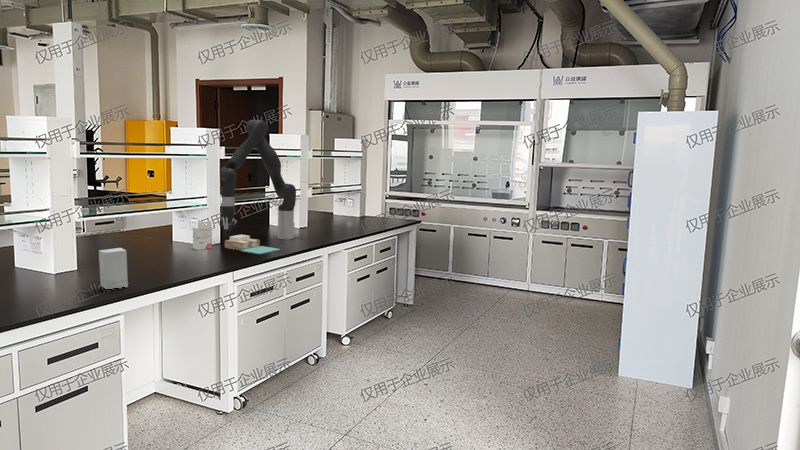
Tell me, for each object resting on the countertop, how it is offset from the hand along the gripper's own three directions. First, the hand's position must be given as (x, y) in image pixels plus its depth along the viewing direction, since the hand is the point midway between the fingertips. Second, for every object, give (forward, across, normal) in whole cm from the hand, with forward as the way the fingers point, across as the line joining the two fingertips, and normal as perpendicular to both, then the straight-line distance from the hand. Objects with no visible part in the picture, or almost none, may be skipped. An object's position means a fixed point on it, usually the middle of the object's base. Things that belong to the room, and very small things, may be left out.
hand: (227, 235), depth 307 cm
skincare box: (+5, -32, +92) cm, 98 cm away
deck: (+5, -11, 0) cm, 12 cm away
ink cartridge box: (+5, +2, +16) cm, 17 cm away
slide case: (+1, -9, 0) cm, 9 cm away
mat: (+5, -24, 0) cm, 24 cm away
